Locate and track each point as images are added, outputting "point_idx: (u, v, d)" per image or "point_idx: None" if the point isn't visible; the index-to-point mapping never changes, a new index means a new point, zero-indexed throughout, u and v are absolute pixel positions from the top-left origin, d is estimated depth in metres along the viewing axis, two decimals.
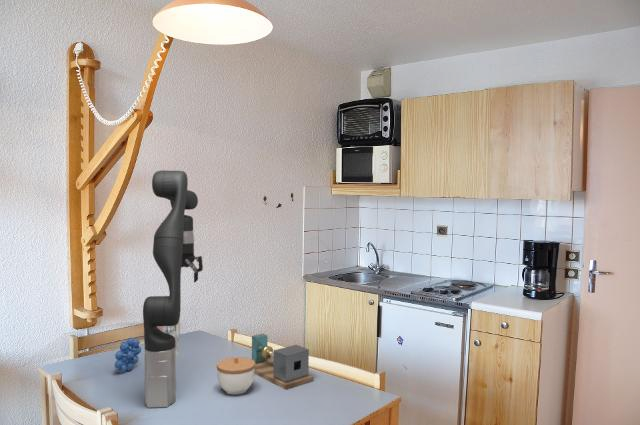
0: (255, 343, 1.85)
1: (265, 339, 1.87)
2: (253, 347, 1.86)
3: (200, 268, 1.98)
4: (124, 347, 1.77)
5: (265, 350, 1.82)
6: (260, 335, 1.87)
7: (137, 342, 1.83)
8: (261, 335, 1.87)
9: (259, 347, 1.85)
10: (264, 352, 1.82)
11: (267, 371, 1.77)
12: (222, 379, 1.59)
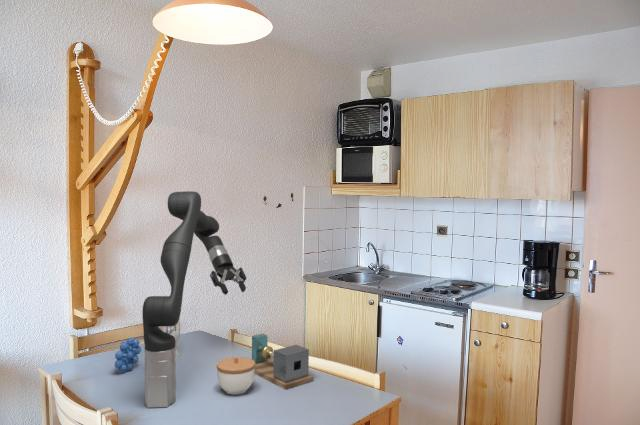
0: (255, 343, 1.85)
1: (265, 339, 1.87)
2: (253, 347, 1.86)
3: (244, 277, 1.99)
4: (124, 347, 1.77)
5: (265, 350, 1.82)
6: (260, 335, 1.87)
7: (137, 342, 1.83)
8: (261, 335, 1.87)
9: (259, 347, 1.85)
10: (264, 352, 1.82)
11: (267, 371, 1.77)
12: (222, 379, 1.59)
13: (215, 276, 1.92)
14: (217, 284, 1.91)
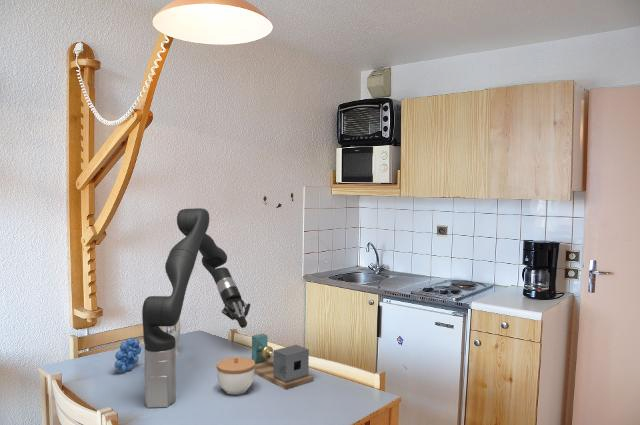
0: (255, 343, 1.85)
1: (265, 339, 1.87)
2: (253, 347, 1.86)
3: (246, 312, 1.99)
4: (124, 347, 1.77)
5: (265, 350, 1.82)
6: (260, 335, 1.87)
7: (137, 342, 1.83)
8: (261, 335, 1.87)
9: (259, 347, 1.85)
10: (264, 352, 1.82)
11: (267, 371, 1.77)
12: (222, 379, 1.59)
13: (229, 311, 1.95)
14: (234, 318, 1.95)
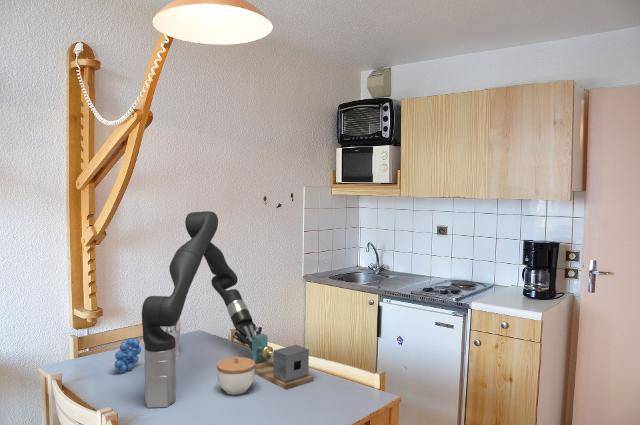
0: (255, 343, 1.85)
1: (265, 339, 1.87)
2: (253, 347, 1.86)
3: None
4: (124, 347, 1.77)
5: (265, 350, 1.82)
6: (260, 335, 1.87)
7: (137, 342, 1.83)
8: (261, 335, 1.87)
9: (259, 347, 1.85)
10: (264, 352, 1.82)
11: (267, 371, 1.77)
12: (222, 379, 1.59)
13: (241, 336, 1.89)
14: (246, 342, 1.89)
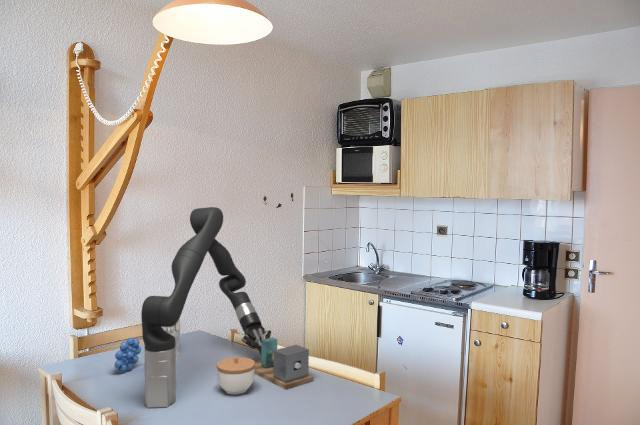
0: (265, 347, 1.80)
1: (275, 343, 1.82)
2: (263, 351, 1.81)
3: None
4: (124, 347, 1.77)
5: None
6: (270, 339, 1.83)
7: (137, 342, 1.83)
8: (271, 339, 1.83)
9: (269, 351, 1.81)
10: None
11: (267, 371, 1.77)
12: (222, 379, 1.59)
13: (250, 340, 1.84)
14: (255, 346, 1.84)
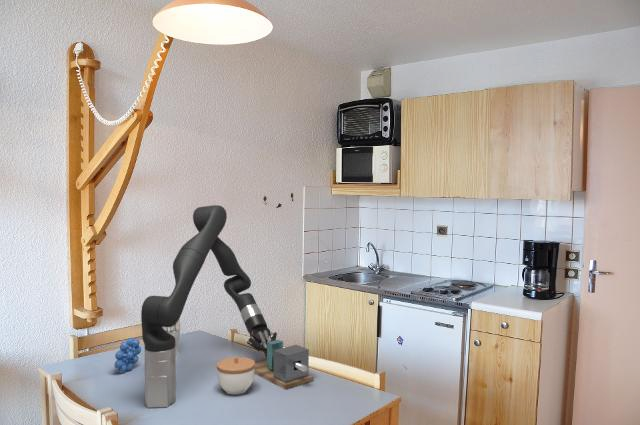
0: (271, 350, 1.77)
1: (281, 346, 1.80)
2: (268, 354, 1.78)
3: None
4: (124, 347, 1.77)
5: None
6: (276, 341, 1.80)
7: (137, 342, 1.83)
8: (277, 341, 1.80)
9: None
10: None
11: (267, 371, 1.77)
12: (222, 379, 1.59)
13: (255, 342, 1.82)
14: (261, 349, 1.82)
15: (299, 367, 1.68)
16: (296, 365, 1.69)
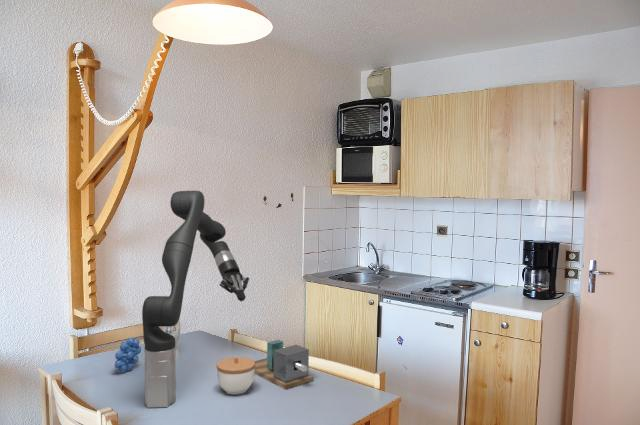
0: (271, 350, 1.77)
1: (281, 346, 1.80)
2: (268, 354, 1.78)
3: (245, 285, 1.94)
4: (124, 347, 1.77)
5: None
6: (276, 341, 1.80)
7: (137, 342, 1.83)
8: (277, 341, 1.80)
9: None
10: None
11: (267, 371, 1.77)
12: (222, 379, 1.59)
13: (227, 284, 1.91)
14: (232, 291, 1.91)
15: (299, 367, 1.68)
16: (296, 365, 1.69)
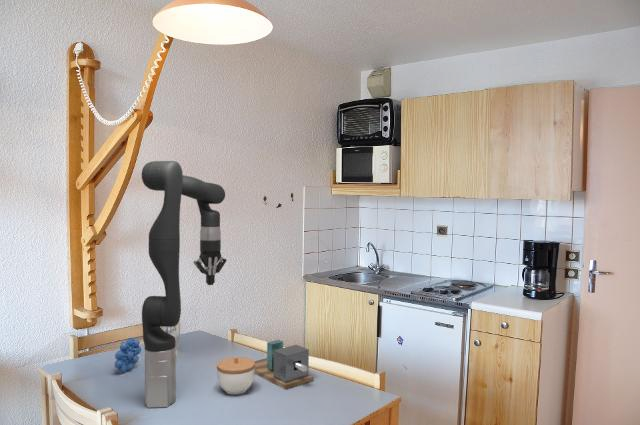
0: (271, 350, 1.77)
1: (281, 346, 1.80)
2: (268, 354, 1.78)
3: (219, 269, 1.86)
4: (124, 347, 1.77)
5: None
6: (276, 341, 1.80)
7: (137, 342, 1.83)
8: (277, 341, 1.80)
9: None
10: None
11: (267, 371, 1.77)
12: (222, 379, 1.59)
13: (201, 267, 1.81)
14: (204, 273, 1.83)
15: (299, 367, 1.68)
16: (296, 365, 1.69)
